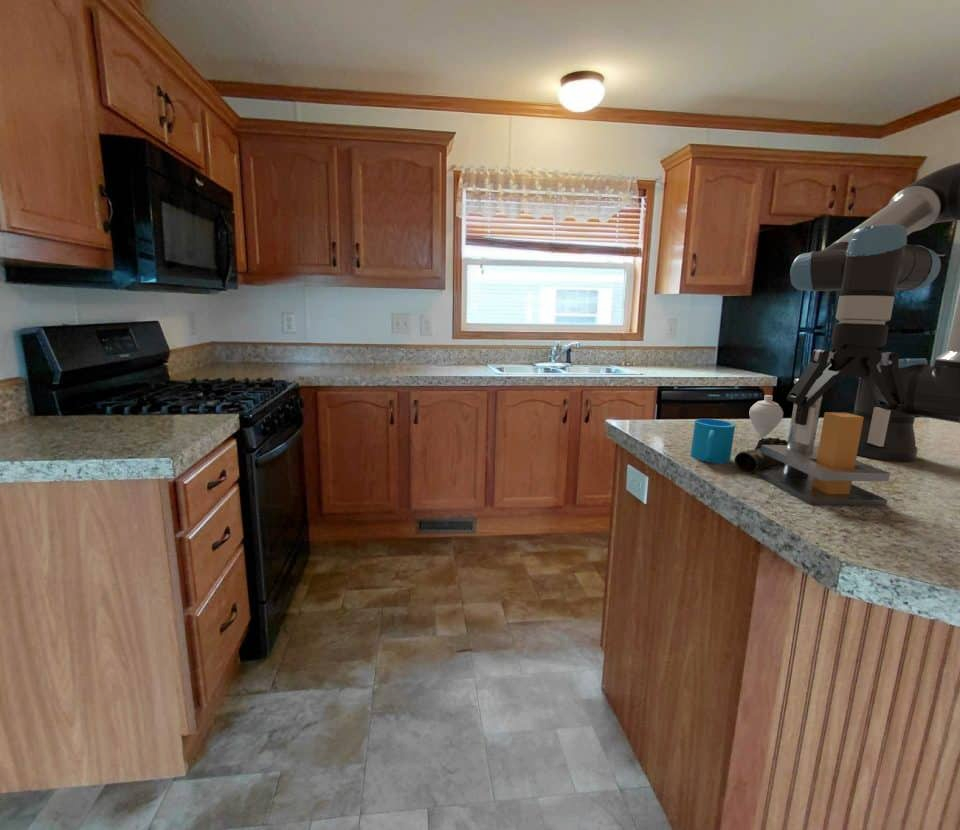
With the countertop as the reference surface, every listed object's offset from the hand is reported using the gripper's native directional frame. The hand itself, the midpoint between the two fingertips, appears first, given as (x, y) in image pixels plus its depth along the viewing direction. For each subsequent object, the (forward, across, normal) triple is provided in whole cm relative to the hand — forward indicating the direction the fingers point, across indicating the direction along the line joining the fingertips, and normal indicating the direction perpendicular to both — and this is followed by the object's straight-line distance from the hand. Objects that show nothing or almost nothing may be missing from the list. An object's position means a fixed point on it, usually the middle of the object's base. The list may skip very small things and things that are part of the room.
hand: (838, 443), depth 90 cm
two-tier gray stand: (+10, 0, -4) cm, 10 cm away
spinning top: (+10, -12, -40) cm, 43 cm away
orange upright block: (+9, 0, 0) cm, 9 cm away
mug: (+10, +12, -22) cm, 26 cm away
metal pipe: (+10, +1, -18) cm, 21 cm away
